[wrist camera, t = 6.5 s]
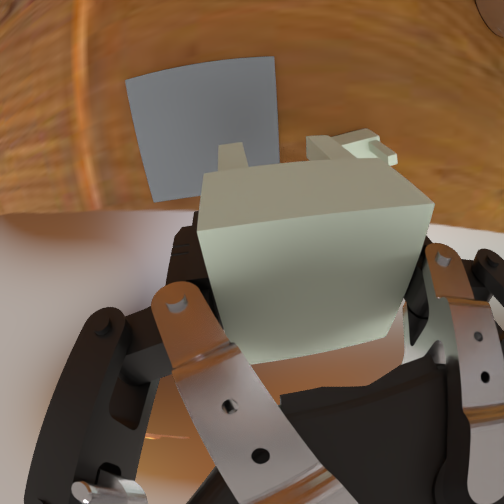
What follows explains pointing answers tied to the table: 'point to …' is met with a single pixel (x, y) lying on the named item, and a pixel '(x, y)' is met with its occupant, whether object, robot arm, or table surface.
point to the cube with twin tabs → (308, 248)
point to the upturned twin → (366, 146)
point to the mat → (203, 120)
